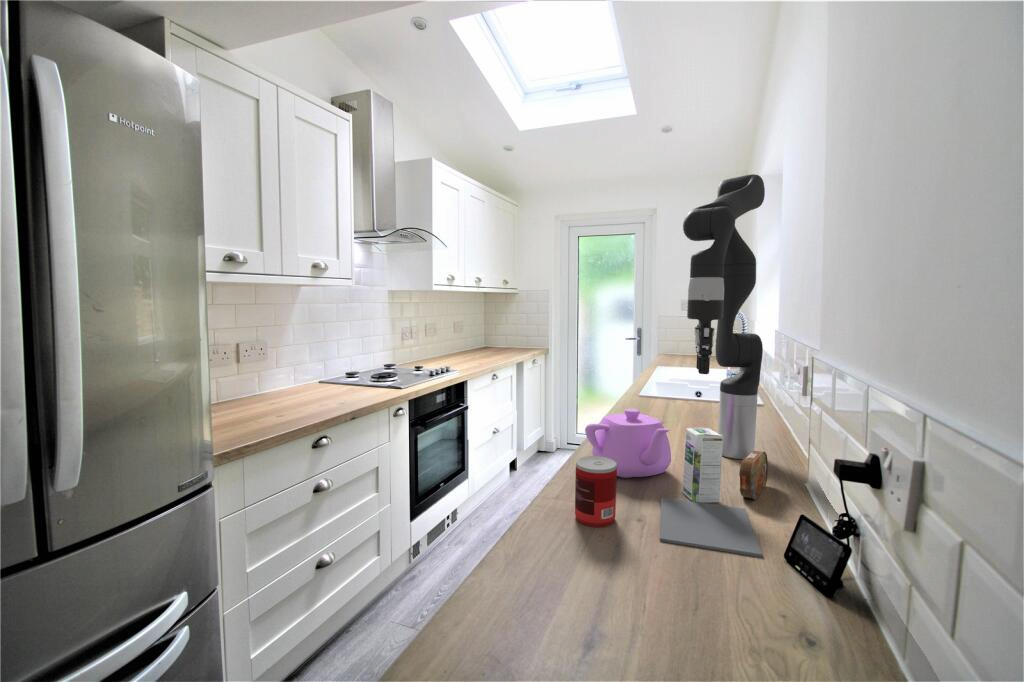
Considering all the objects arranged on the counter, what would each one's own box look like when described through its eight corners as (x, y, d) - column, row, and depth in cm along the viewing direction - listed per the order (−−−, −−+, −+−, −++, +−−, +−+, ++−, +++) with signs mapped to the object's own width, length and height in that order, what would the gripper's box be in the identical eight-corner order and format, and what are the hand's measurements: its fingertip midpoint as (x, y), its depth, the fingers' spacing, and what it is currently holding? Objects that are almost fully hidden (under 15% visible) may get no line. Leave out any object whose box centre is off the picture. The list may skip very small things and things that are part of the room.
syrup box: (681, 492, 103) (684, 427, 102) (707, 491, 103) (710, 427, 102) (693, 503, 97) (696, 435, 96) (721, 503, 98) (724, 434, 97)
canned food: (617, 512, 93) (619, 458, 92) (612, 531, 85) (614, 472, 85) (579, 506, 95) (580, 453, 95) (570, 524, 88) (572, 466, 87)
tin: (751, 505, 97) (754, 465, 96) (735, 501, 99) (737, 462, 98) (768, 484, 108) (770, 448, 108) (753, 480, 111) (755, 445, 110)
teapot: (570, 463, 121) (571, 405, 120) (642, 455, 127) (643, 400, 126) (615, 498, 100) (617, 428, 98) (698, 487, 106) (701, 422, 104)
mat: (661, 499, 99) (661, 497, 99) (745, 510, 94) (745, 508, 94) (659, 540, 82) (660, 538, 82) (762, 557, 77) (762, 554, 77)
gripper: (686, 298, 114) (683, 366, 116) (689, 297, 101) (686, 375, 102) (720, 298, 112) (717, 368, 113) (727, 298, 98) (723, 377, 100)
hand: (702, 371), depth 108 cm, fingers open, 6 cm apart
